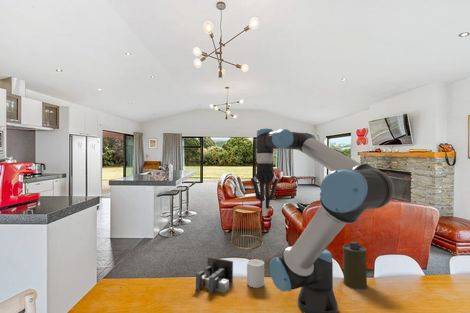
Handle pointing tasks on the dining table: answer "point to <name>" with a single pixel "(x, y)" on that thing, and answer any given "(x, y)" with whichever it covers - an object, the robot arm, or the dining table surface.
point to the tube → (216, 283)
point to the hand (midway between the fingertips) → (264, 215)
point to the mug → (255, 273)
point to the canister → (354, 266)
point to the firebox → (215, 272)
